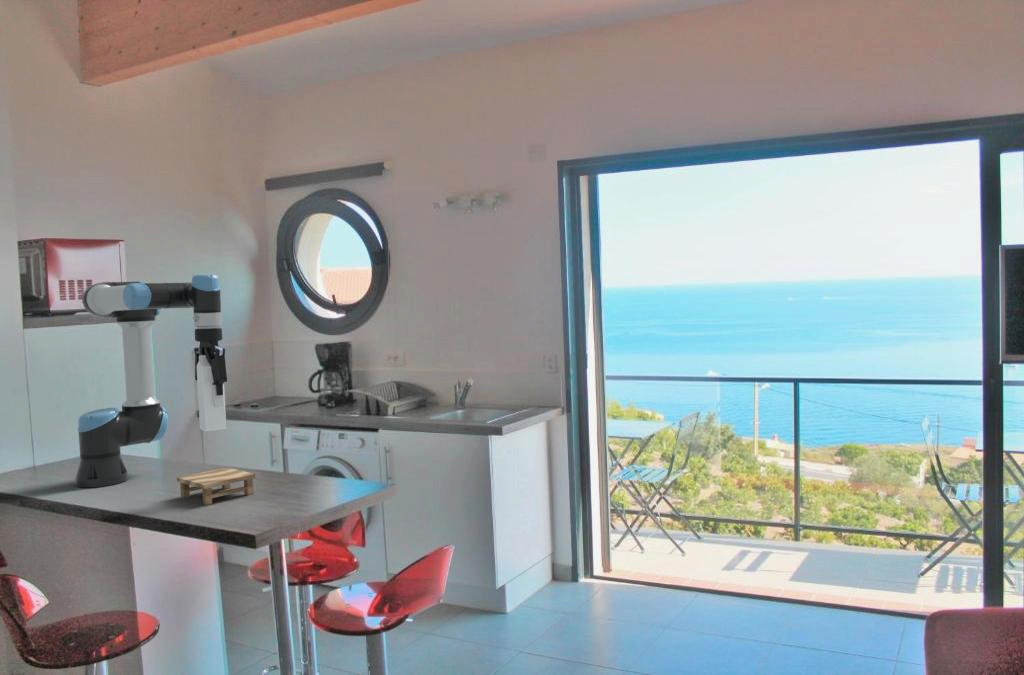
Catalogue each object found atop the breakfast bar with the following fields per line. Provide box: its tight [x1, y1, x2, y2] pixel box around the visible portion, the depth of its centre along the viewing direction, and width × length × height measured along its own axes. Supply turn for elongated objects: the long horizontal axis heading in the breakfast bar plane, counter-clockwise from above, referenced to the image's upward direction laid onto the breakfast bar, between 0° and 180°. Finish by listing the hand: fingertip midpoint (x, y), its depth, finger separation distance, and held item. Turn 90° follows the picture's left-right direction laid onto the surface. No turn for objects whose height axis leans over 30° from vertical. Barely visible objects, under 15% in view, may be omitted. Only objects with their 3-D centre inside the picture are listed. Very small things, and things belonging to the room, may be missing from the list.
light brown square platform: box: [176, 466, 256, 506], centre depth 235 cm, size 16×16×6 cm
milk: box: [196, 355, 227, 433], centre depth 233 cm, size 6×6×22 cm
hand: (212, 405), depth 233 cm, fingers closed on milk, 7 cm apart
